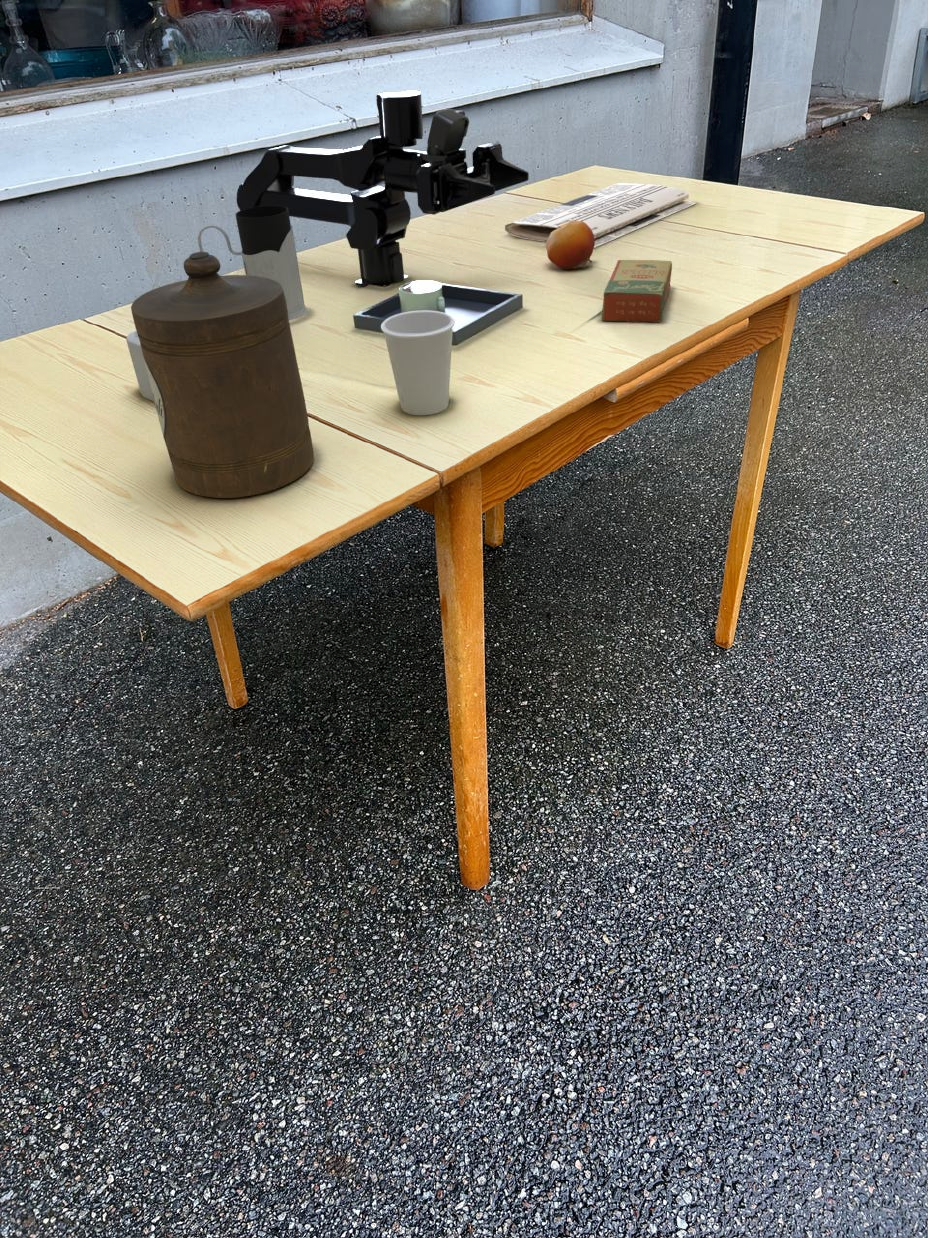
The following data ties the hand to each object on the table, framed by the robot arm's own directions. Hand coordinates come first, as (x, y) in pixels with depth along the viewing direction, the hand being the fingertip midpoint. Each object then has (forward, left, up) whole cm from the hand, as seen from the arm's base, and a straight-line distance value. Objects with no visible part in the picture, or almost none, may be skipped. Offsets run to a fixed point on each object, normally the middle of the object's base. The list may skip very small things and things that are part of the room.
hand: (511, 182), depth 131 cm
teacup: (-5, -16, -16) cm, 23 cm away
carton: (+17, +6, -17) cm, 25 cm away
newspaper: (-10, +50, -17) cm, 54 cm away
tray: (-5, -12, -17) cm, 21 cm away
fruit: (-1, +20, -17) cm, 26 cm away
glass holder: (-31, -22, -17) cm, 42 cm away
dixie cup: (+11, -38, -17) cm, 43 cm away
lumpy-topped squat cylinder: (-19, -47, -17) cm, 54 cm away
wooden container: (+3, -60, -17) cm, 62 cm away
